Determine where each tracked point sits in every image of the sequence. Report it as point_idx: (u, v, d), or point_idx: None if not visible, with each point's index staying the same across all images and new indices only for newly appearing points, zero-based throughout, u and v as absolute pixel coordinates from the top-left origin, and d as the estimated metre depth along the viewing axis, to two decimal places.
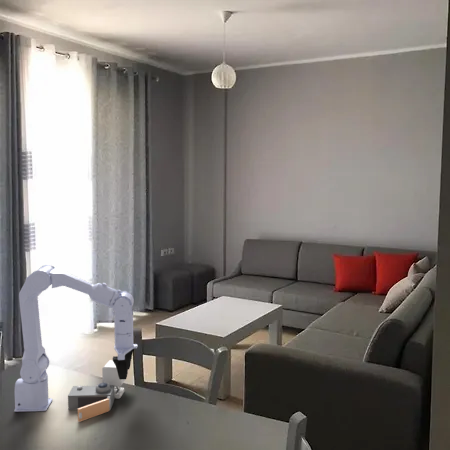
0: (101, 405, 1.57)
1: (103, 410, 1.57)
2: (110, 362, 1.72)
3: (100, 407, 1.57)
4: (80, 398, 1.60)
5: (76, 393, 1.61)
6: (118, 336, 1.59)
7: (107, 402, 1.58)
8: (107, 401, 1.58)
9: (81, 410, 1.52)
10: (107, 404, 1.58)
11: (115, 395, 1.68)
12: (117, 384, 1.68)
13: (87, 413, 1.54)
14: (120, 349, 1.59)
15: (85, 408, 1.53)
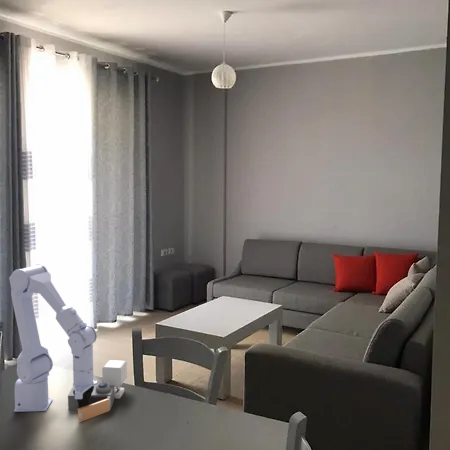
0: (101, 405, 1.57)
1: (103, 410, 1.57)
2: (110, 362, 1.72)
3: (100, 407, 1.57)
4: None
5: None
6: (76, 373, 1.51)
7: (107, 402, 1.58)
8: (107, 401, 1.58)
9: (81, 410, 1.52)
10: (107, 404, 1.58)
11: (115, 395, 1.68)
12: (117, 384, 1.68)
13: (87, 413, 1.54)
14: (78, 387, 1.51)
15: (85, 408, 1.53)
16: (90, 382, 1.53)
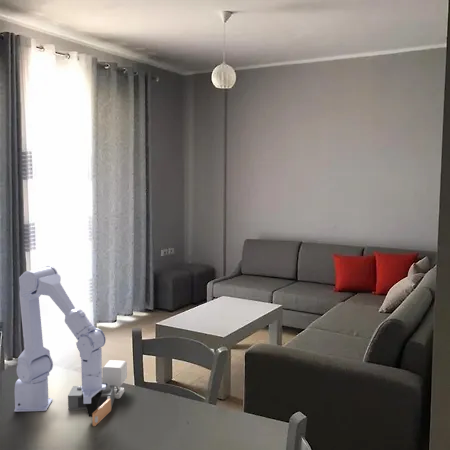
0: (107, 406, 1.57)
1: (108, 410, 1.57)
2: (110, 362, 1.72)
3: (106, 407, 1.56)
4: (80, 398, 1.60)
5: (76, 393, 1.61)
6: (85, 377, 1.49)
7: (110, 402, 1.58)
8: (110, 401, 1.58)
9: (96, 414, 1.50)
10: (110, 404, 1.58)
11: (115, 395, 1.68)
12: (117, 384, 1.68)
13: (99, 416, 1.52)
14: (87, 391, 1.49)
15: (98, 411, 1.51)
16: (99, 386, 1.50)
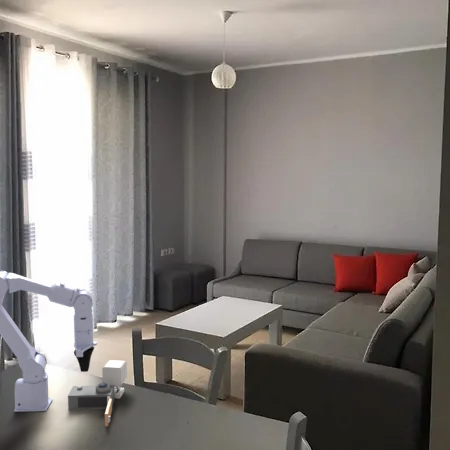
0: (110, 406, 1.57)
1: (111, 410, 1.58)
2: (110, 362, 1.72)
3: (110, 407, 1.56)
4: (80, 398, 1.60)
5: (76, 393, 1.61)
6: (77, 333, 1.61)
7: (111, 401, 1.59)
8: (111, 400, 1.59)
9: (108, 414, 1.50)
10: (111, 403, 1.59)
11: (115, 395, 1.68)
12: (117, 384, 1.68)
13: (109, 416, 1.52)
14: (79, 346, 1.61)
15: (108, 411, 1.51)
16: (90, 342, 1.63)
